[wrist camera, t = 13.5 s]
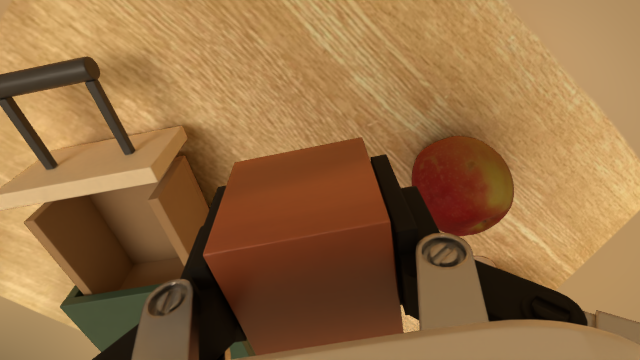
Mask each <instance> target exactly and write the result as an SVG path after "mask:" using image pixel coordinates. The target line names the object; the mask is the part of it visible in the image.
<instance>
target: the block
mask: <svg viewBox="0 0 640 360" xmlns="http://www.w3.org/2000/svg"><path fill="white" fill-rule="evenodd" d="M203 257H204V259H205V260H206V262H207V264H208V266H209V268H210V270H211V272H212V273H213V275H214V277H215V279H216V281H217V283H218V285H219V286H220V288H221V290H222V292H223V294H224V296H225V298H226V300H227V301H228V303H229V305H230V307H231V309H232V311H233V313H234V314H235V316H236V318H237V320H238V322H239V324H240V326H241V327H242V329H243V331H244V333H245V335H246V337H247V339H248V340H249V342H250V344H251V346H252V348H253V350H254V352H255V354H256V355H264V354H270V353H276V352H283V351H289V350H295V349H302V348H308V347H315V346H321V345H328V344H334V343H341V342H347V341H354V340H361V339H367V338H374V337H380V336H387V335H394V334H400V333H403V324H402V316H401V307H400V299H399V290H398V282H397V273H396V265H395V257H394V248H393V240H392V231H391V223H390V219H389V216H388V213H387V210H386V207H385V204H384V201H383V198H382V195H381V192H380V189H379V186H378V183H377V180H376V177H375V174H374V171H373V168H372V165H371V162H370V159H369V156H368V153H367V150H366V147H365V144H364V141H363V138H362V137H359V138H354V139H350V140H345V141H340V142H335V143H330V144H325V145H320V146H315V147H310V148H305V149H300V150H295V151H290V152H285V153H280V154H275V155H270V156H265V157H260V158H255V159H250V160H245V161H240V162H235V163H234V166H233V169H232V172H231V174H230V177H229V180H228V183H227V186H226V189H225V192H224V195H223V198H222V201H221V203H220V206H219V209H218V212H217V215H216V218H215V221H214V224H213V227H212V230H211V232H210V235H209V238H208V241H207V244H206V247H205V250H204V253H203Z"/></svg>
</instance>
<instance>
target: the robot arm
mask: <svg viewBox="0 0 640 360" xmlns="http://www.w3.org/2000/svg"><path fill="white" fill-rule="evenodd" d="M370 162H371V165H372V168H373V171H374V174H375V177H376V180H377V183H378V186H379V189H380V192H381V195H382V198H383V201H384V204H385V207H386V210H387V213H388V216H389V219H390V223H391V231H392V240H393V248H394V257H395V265H396V273H397V282H398V290H399V299H400V305H403V308H404V311H405V315H410V316H412V317H414V318H416V319H417V320H419V324H420V331H414V332H407V333H400V334H394V335H387V336H380V337H374V338H367V339H361V340H354V341H347V342H341V343H334V344H328V345H321V346H315V347H308V348H302V349H295V350H289V351H283V352H276V353H270V354H264V355H257V356H251V357H245V358H238V359H232V360H640V323H639V322H636V321H632V320H628V319H625V318H622V317H618V316H615V315H612V314H608V313H605V312H601V311H598V310H596V313H595V314H591V313H588V312H585V311H582V310H581V308H580V307H579V305H578V304H577V303H575V302H574V301H573V300H571V299H570V298H569V297H567V296H565V295H563V294H561V293H559V292H557V291H554V290H552V289H549V288H547V287H544V286H542V285H539V284H536V283H534V282H531V281H529V280H526V279H524V278H521V277H518V276H516V275H513V274H511V273H508V272H506V271H503V270H501V269H498V268H495V267H493V266H490V265H488V264H485V263H483V262H480V261H477V260H475V259H474V256H473V252H472V249H471V247H470V245H469V244H468V243H467V242H466V241H465V240H464V239H462V238H460V237H458V236H456V235H453V234H449V233H440V231H439V229H438V227H437V225H436V223H435V221H434V219H433V217H432V215H431V213H430V211H429V209H428V207H427V205H426V203H425V202H424V200H423V198H422V196H421V194H420V192H419V190H418V188H417V186H411V187H406V188H400V186H399V183H398V181H397V179H396V176H395V174H394V172H393V169H392V167H391V165H390V162H389V160H388V157H387V155H386V154H385V155H380V156H375V157H371V161H370ZM226 186H227V185H226ZM226 186H221V187H218V189H217V191H216V194H215V197H214V199H213V202H212V204H211V207H210V210H209V212H208V215H207V218H206V220H205V223H204V225H203V226H201V228H200V229H199V231H198V234H197V237H196V239H195V242H194V244H193V247H192V249H191V252H190V255H189V257H188V260H187V262H186V265H185V267H184V270H183V272H182V275H181V278H180V279H175V280H170V281H168V282H166V283H164V284H162V285H160V286H159V287H157V288H156V289H155V290H154V291H153V292H152V293H151V294H150V295H149V296H148V297H147V299H146V300H145V302H144V305H143V307H142V311H141V316H140V321H139V324H137V325H136V326H135V327H133V328H132V329H131V330H129V331H128V332H127V333H126V334H124V335H123V336H122V337H120V338H119V339H118V340H117V341H115V342H114V343H113V344H111V345H110V346H109V347H108V348H106V349H105V350H104V351H102V352H101V353H100V354H99V355H97V356H96V357H95V358H93V359H92V360H231V352H230V348H229V347H230V346H231V345H232V344H233V343H235V342H242V341H246V340H247V337H246V335H245V333H244V331H243V329H242V327H241V326H240V324H239V322H238V320H237V318H236V316H235V314H234V313H233V311H232V309H231V307H230V305H229V303H228V301H227V300H226V298H225V296H224V294H223V292H222V290H221V288H220V286H219V285H218V283H217V281H216V279H215V277H214V275H213V273H212V272H211V270H210V268H209V266H208V264H207V262H206V260H205V259H204V257H203V253H204V250H205V247H206V244H207V241H208V238H209V235H210V232H211V230H212V227H213V224H214V221H215V218H216V215H217V212H218V209H219V206H220V203H221V201H222V198H223V195H224V192H225V189H226Z"/></svg>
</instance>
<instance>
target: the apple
mask: <svg viewBox="0 0 640 360" xmlns="http://www.w3.org/2000/svg"><path fill="white" fill-rule="evenodd" d="M412 186H417V188H418V190H419V192H420V194H421V196H422V198H423V200H424V202H425V203H426V205H427V207H428V209H429V211H430V213H431V215H432V217H433V219H434V221H435V223H436V225H437V227H438V229H439V230H440V231H442V232H444V233H449V234H453V235H456V236H466V235H473V234H477V233H480V232H483V231H485V230H487V229H489V228H490V227H492V226H494V225H495V224H497V223H498V222H499V221H500V220H501V219H502V218H503V217H504V216H505V215H506V214H507V212H508V211H509V209H510V208H511V206H512V202H513V197H514V185H513V179H512V176H511V173H510V170H509V168H508V166H507V164H506V162H505V161H504V159H503V158H502V157H501V156H500V154H498V153H497V152H496V151H495V150H494V149H493V148H492V147H490V146H489V145H487V144H486V143H484V142H482V141H480V140H478V139H475V138H471V137H464V136H452V137H448V138H445V139H442V140H439V141H437V142H434V143H433V144H431V145H429V146H427V147H426V148H425V149H423V150H422V151H421V152H420V153H419V155H418V156H417V158H416V161H415V163H414V166H413V171H412Z"/></svg>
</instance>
